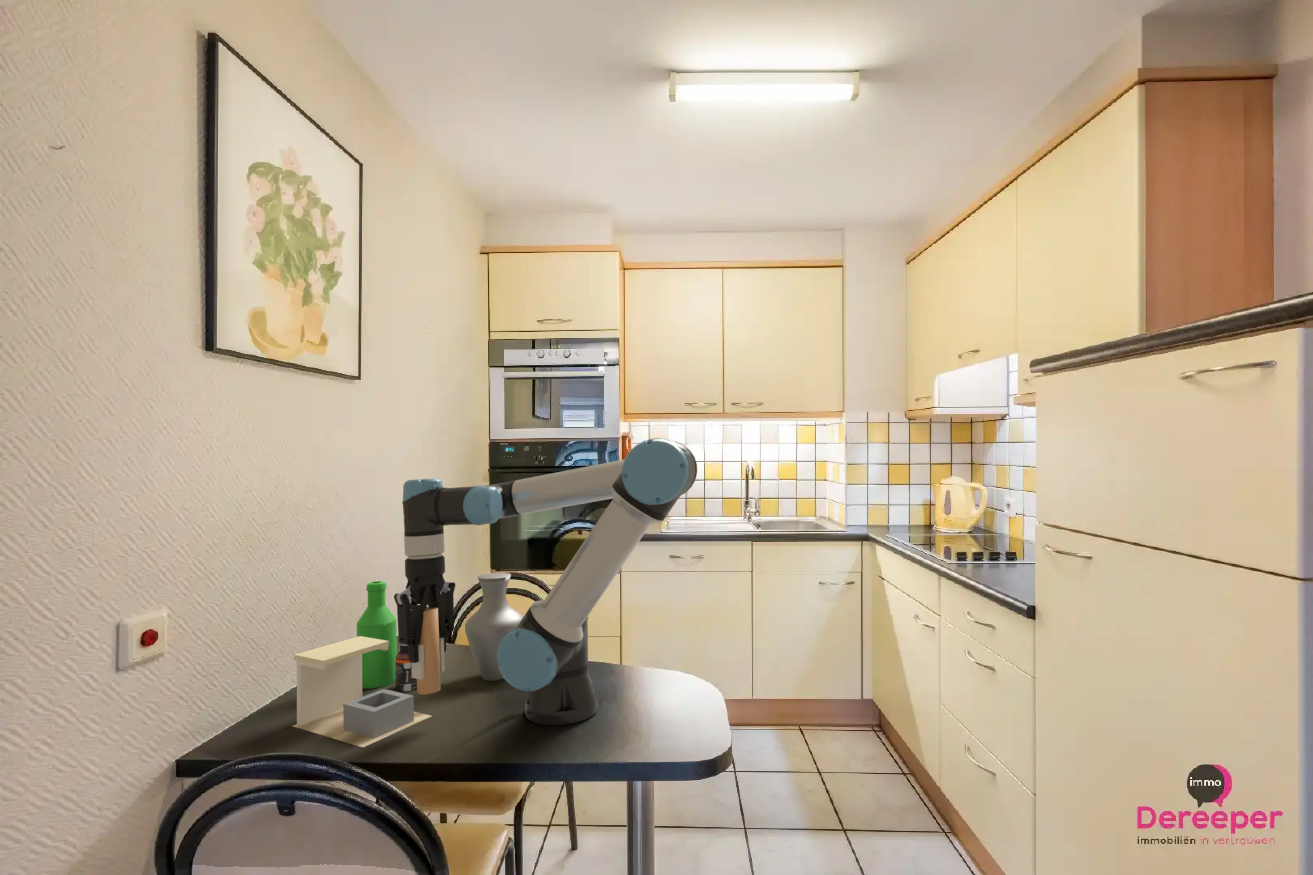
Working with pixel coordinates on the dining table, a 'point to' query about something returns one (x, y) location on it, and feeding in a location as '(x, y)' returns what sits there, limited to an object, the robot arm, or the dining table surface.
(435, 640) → the peg
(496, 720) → the dining table surface
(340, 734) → the board
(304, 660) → the cream shelf stand
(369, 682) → the bottle
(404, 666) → the supplement bottle
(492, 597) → the vase
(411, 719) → the socket
